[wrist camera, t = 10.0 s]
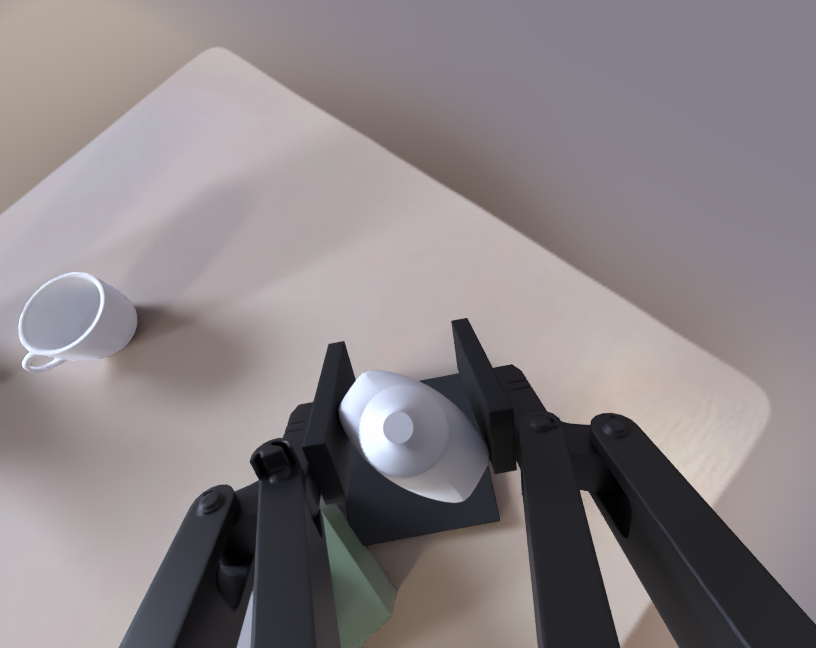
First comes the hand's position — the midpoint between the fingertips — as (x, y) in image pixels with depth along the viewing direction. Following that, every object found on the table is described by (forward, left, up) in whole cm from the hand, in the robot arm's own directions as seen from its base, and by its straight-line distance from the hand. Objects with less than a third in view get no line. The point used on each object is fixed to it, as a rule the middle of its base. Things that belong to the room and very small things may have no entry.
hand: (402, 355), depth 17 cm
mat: (+1, +5, -16) cm, 16 cm away
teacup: (+32, -6, -16) cm, 36 cm away
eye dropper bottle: (-1, +4, -4) cm, 5 cm away
